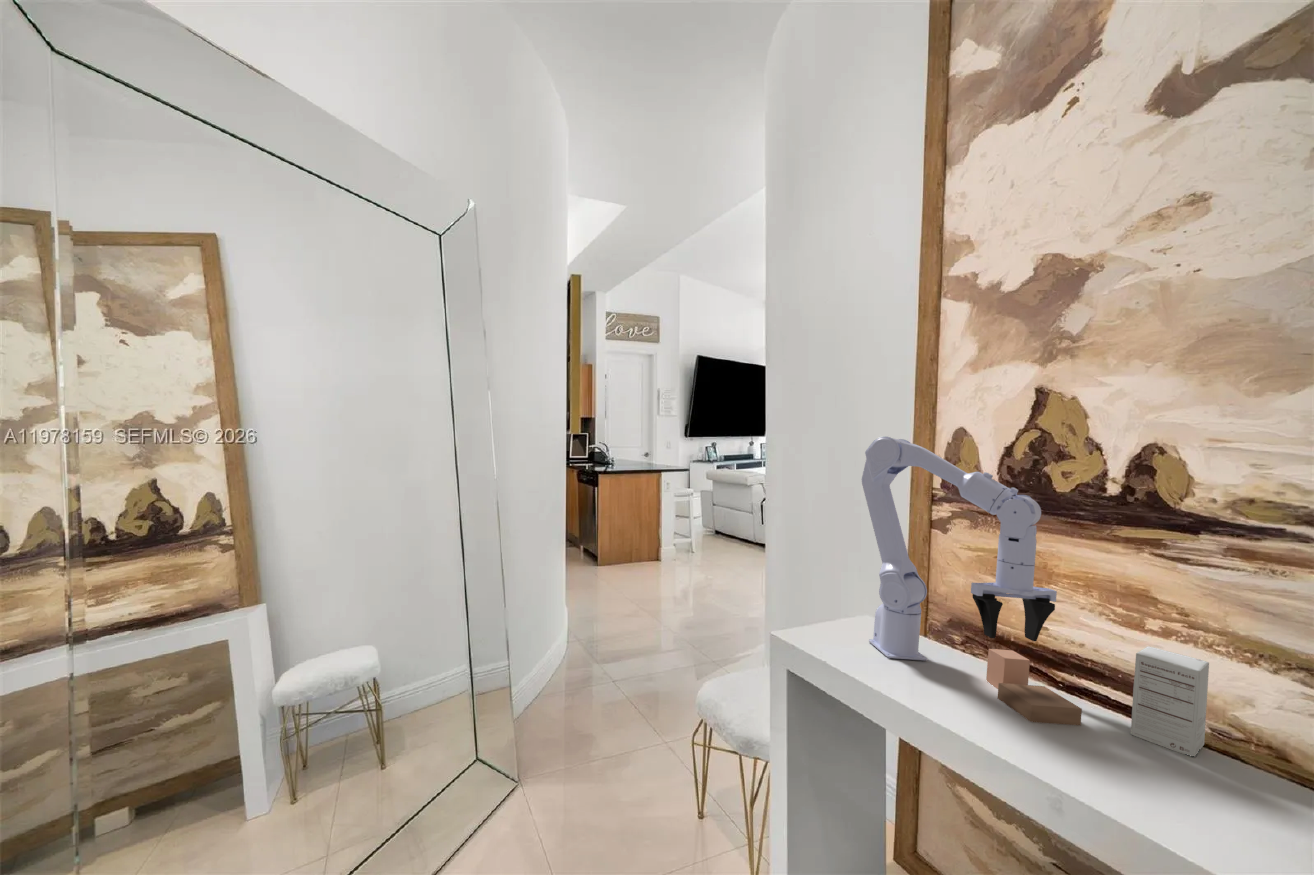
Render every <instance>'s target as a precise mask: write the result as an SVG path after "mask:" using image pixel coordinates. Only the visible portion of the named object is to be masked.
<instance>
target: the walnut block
mask: <svg viewBox="0 0 1314 875" xmlns="http://www.w3.org/2000/svg"><path fill="white" fill-rule="evenodd" d="M996 697H997V699H998V700H999V701H1000V702H1001V703H1004V704H1005V705H1006V706H1007V707H1009V708H1010V709H1011V710H1014V712H1015V713H1017V714H1019V715H1020V716H1022V717H1023V718H1024V719H1026V720H1027V721H1028V722H1030V723H1040V724H1054V725H1056V724H1057V725H1069V726H1081V725H1082V724H1081V723H1082V715H1083V714H1082V713H1083V711H1082V710H1083V709H1082V707H1080V706H1078V705H1077V704H1074V703H1073V702H1071V701H1070V700H1069V699H1066V698H1065V697H1063V696H1061V695H1059V694H1058V693H1056V692H1054V691H1053V690H1051V689H1049V687H1046V686H1045V685H1031V684H1028V685H1021V684H1007V683H999V685H998V689H997V696H996Z"/></svg>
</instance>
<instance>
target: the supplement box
mask: <svg viewBox="0 0 1314 875" xmlns="http://www.w3.org/2000/svg"><path fill="white" fill-rule="evenodd" d="M1209 669H1210V662H1208V661H1206V660H1203V659H1200V658H1197V657H1192V656H1188V655H1184V654H1180V653H1176V652H1172V651H1168V650H1164V649H1161V648H1157V647H1153V646H1146V647H1144V648H1143V649H1141V650H1140V651H1137V652H1136V653H1135V664H1134V677H1133V678H1134V679H1133V690H1132V704H1131V705H1132V708H1131V720H1130V721H1131V724H1130V725H1131V726H1130V735H1132V736H1133V737H1136V738H1138V739H1141V740H1144V741H1146V742H1150V743H1152V744H1155V745H1157V746H1161V747H1163V748H1166V749H1169V750H1172V751H1174V752H1177V753H1180V754H1182V755H1185V754H1188V755H1191V756H1195V755H1196V754H1197V753H1198V754H1199V752H1200V751H1199V749H1200V750H1202V748H1203V746H1204V745H1205V738H1206V737H1205V736H1206V735H1205V734H1206V718H1207V704H1208V688H1209V673H1210V671H1209ZM1198 751H1199V752H1198ZM1198 754H1197V755H1198ZM1197 755H1196V756H1197ZM1191 756H1190V757H1191ZM1196 756H1195V757H1196Z"/></svg>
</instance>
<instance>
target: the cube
mask: <svg viewBox="0 0 1314 875" xmlns="http://www.w3.org/2000/svg"><path fill="white" fill-rule="evenodd" d="M1030 664H1031V660H1030V659H1028V658H1027V657H1025V656H1023V655H1021V654H1020V653H1018V652H1016V651H1014V650H1013V649H1012V650H1010V649H999V648H998V649H996V648H988V653H987V667H986V679H985V681H986V680H987V681H988V682H989V683H990V684H989V683H988V682H987V683H988V684H989V685H991V686H992V685H993V686H992V687H994V688H995V689H997V690H998V685H999V683H1007V684H1021V685H1029V677H1030V676H1029V674H1030Z"/></svg>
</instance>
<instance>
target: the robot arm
mask: <svg viewBox="0 0 1314 875" xmlns="http://www.w3.org/2000/svg"><path fill="white" fill-rule="evenodd" d="M864 454H865V461H864V462H865V463H864V467H863V471H862V476H861V485H862V490H863V492H864V493H863V494H864V496H865V500H866V506H867V507H868V508H867V509H868V513H869V517H870V520H871V523H872V527H873V532H874V537H875V540H876V544H877V548H878V552H879V556H880V559H881V563H882V564H881V568H880V570H879V573H878V574H879V581H880V584H879V590H878V592H879V593H878V594H879V598H880V600H881V602H882V603H881V604H880V605H879V606H878V607H877V609H876V610H875V614H874V625H873V635H872V637H873V638H871V639H868V642H869V643H870V644H871V645H873V646H874V647H875V648H876V649H877V650H878V651H879V652H881V653H882V654H883V655H884V656H886V658H889V659H898V660H911V661H912V660H913V661H928V658H927V657H926V656H925V655H923V654H922V653H921V652H920V651H919V647H920V633H921V619H922V618H921V617H922V608H921V603H923V602H924V601H925V599H926V597H927V595H928V589H927V584H926V583H925V581H924V580H923V579H922V578H921V577H920V575H919V573H918V570H917V566H916V565H915V564H914V562H912V561H911V559H910V557H909V554H908V549H907V546H906V541H905V538H904V534H903V531H902V528H901V522H900V520H899V516H898V515H899V514H898V512H897V508H896V505H895V500H894V498H893V494H892V491H891V490H892V489H891V484H892V483H893V481H894V480H895V478H896V477H897V476H898V474H900V473H901V472H902V471H904V470H905V469H908V467H915V468H916V467H918V468H922V469H923V470H926V471H927V472H929V473H930V474H933V475H935V476H937V477H938V478H940V479H942V480H944V481H946V482H948V483H949V484H952V485H953V486H956V487H957V489H958V493H959V495H960V497H961V498H963V499H965V500H966V501H968V502H970V503H971V504H973V505H974V506H976V507H979V508H980V509H981V510H984V511H985V512H987V513H989V514H990V515H992V516H995V515H996V517H997V519H998V521H999V522H1000V525H999V526H1000V528H999V535H998V543H997V544H998V545H997V557H996V558H997V559H996V570H995V582H971V586H970V594H972V599H973V600H974V603H975V605H976V607H977V610H978V612H979V615H980V619H981V625H982V628H983V635H985V636H986V637H988V638H990V639H996V636H997V632H998V631H997V630H998V629H997V628H998V619H999V615H1000V612H1001V609H1002V607H1003V605H1004V604H1003V602H1001V601H1000V600H998V598H1000V597H1002V598H1013V599H1015V598H1016V599H1022V604H1023V609H1024V638H1025V639H1027V640H1029V641H1032V642H1037V641H1038V638H1039V635H1040V633H1041V631H1042V628H1043V627H1044V624H1045V623H1046V621H1047V619H1048V618H1049V617H1050V616H1051V614H1052V613H1053V612H1054V611H1055V610H1056V604H1055V603H1054V602H1057V596H1058V594H1057V590H1054V589H1052V588H1049V587H1037V586H1034V583H1035V582H1034V580H1035V569H1036V568H1035V567H1036V566H1035V565H1036V554H1037V543H1038V542H1037V532H1038V531H1037V525H1036V524H1037V523H1038V522H1039V521H1040V520H1041V516H1042V508H1041V506H1040V504H1039V503H1038V502H1037V501H1036V500H1034V499H1033V498H1032V497H1031V496H1030V495H1026V494H1018V492H1019V489H1017V488H1016V487H1007V486H1006V485H1005V484H1002V483H1001V482H999V481H997V480H995V479H994V478H993V477H994V475H993V474H992V473H989V472H987V471H986V472H983V473H982V472H980V471H974V472H973V471H972V472H969V473H968V472H966V471H965V470H963V469H961V468H960V467H958V466H956V465H954V464H952V462H949V461H948V460H946V459H944V458H943V457H942V456H939V455H937V454H936V453H935V452H932V451H930V450H929V449H927V448H925V447H923V446H920V445H918V444H916V443H912V442H910V441H909V440H908V439H907V440H906V439H904V438H894V437H891V436H879V437H877V438H876V439H874V440H872V442H871V443H870V445H869V446H868V448H867V449H866V450H865V452H864ZM997 597H998V598H997ZM1052 602H1053V603H1052Z"/></svg>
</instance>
